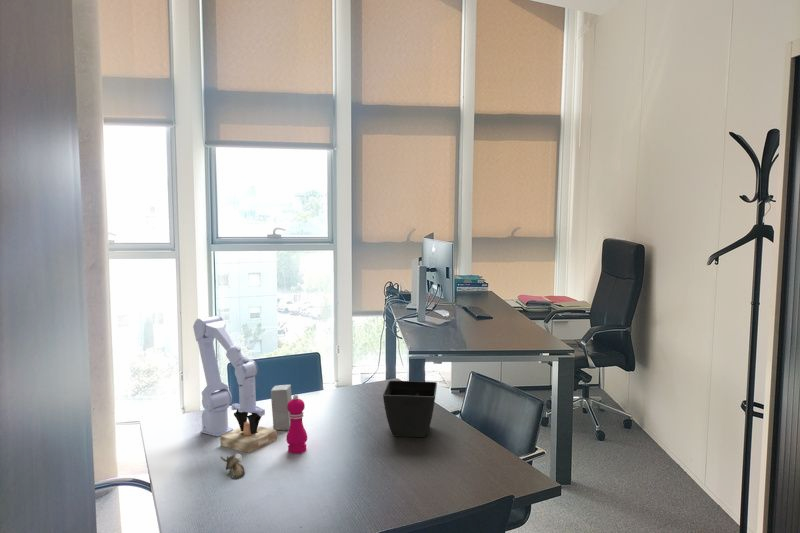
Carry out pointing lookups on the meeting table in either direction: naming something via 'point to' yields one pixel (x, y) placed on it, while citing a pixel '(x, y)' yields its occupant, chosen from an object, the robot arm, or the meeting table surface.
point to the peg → (247, 429)
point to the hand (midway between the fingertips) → (248, 431)
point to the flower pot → (409, 407)
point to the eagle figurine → (234, 466)
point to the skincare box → (281, 406)
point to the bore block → (248, 439)
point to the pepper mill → (296, 426)
